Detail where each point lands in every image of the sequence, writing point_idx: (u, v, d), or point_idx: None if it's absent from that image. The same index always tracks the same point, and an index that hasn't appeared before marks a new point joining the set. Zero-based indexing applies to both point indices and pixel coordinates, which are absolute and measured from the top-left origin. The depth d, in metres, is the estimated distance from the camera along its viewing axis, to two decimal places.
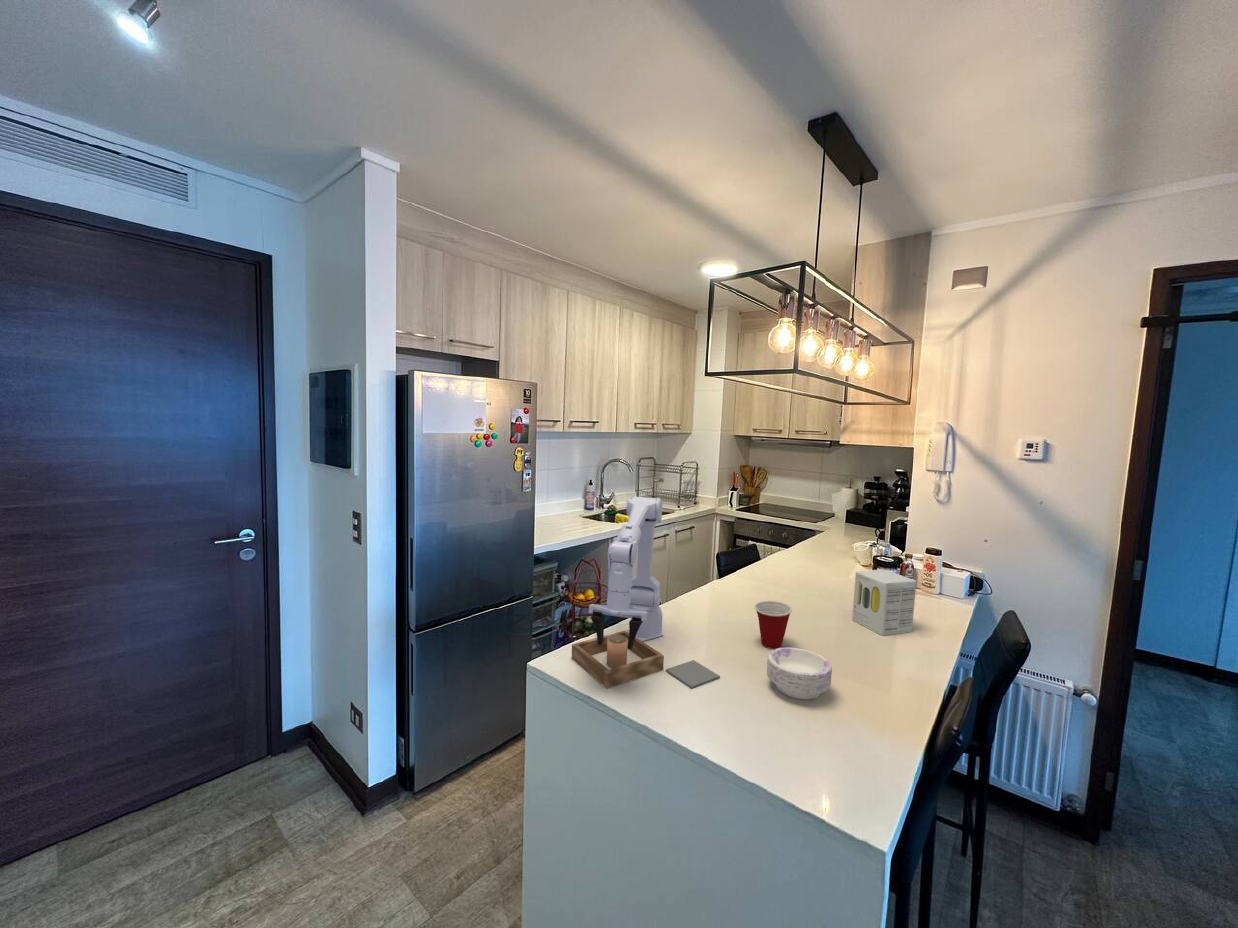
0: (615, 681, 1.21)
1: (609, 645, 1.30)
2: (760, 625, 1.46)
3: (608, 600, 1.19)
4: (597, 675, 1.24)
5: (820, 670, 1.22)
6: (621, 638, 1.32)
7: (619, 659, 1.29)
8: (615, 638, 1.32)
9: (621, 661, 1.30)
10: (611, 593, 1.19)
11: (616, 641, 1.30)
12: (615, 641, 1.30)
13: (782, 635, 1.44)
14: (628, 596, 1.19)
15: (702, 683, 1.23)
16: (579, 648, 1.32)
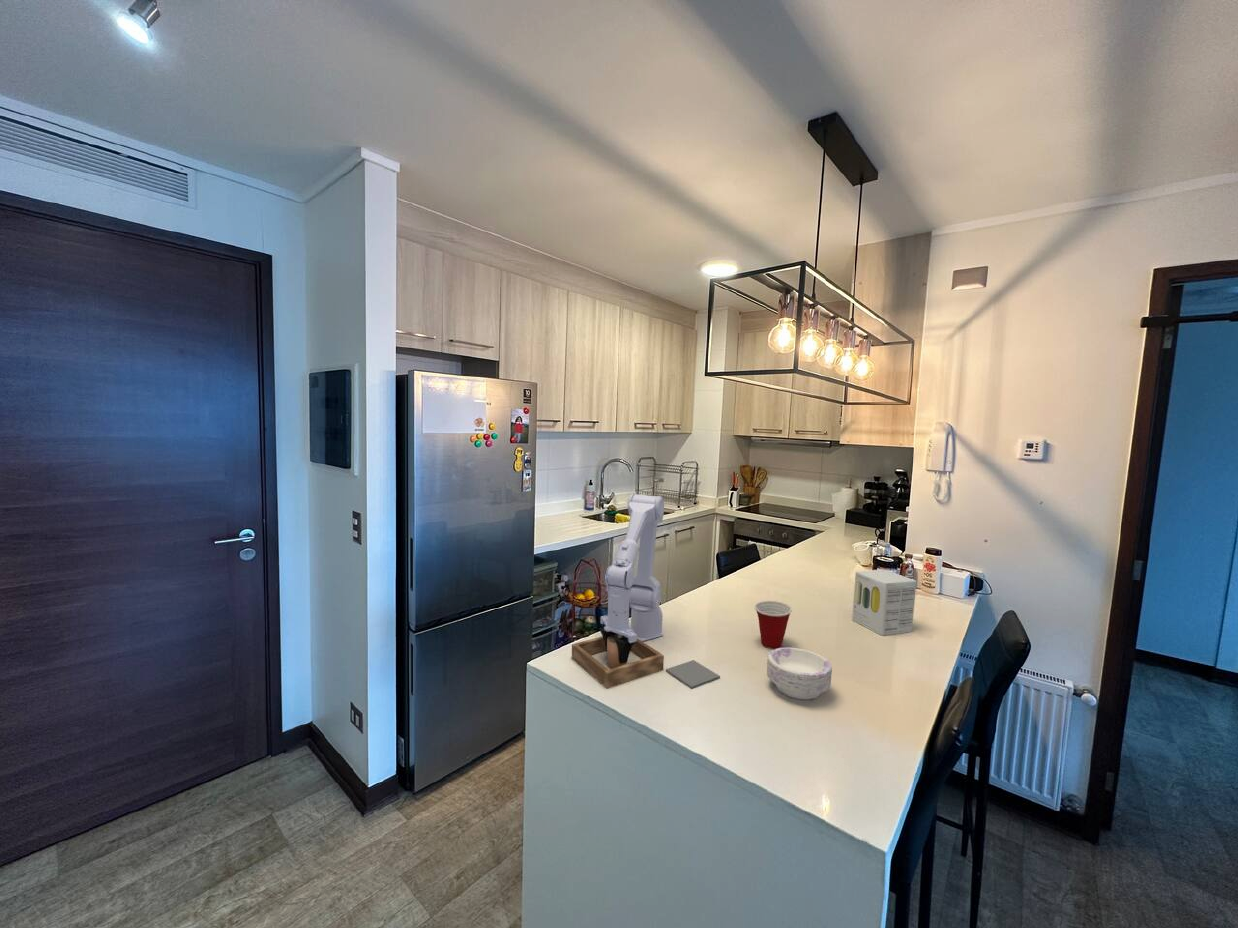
0: (615, 681, 1.21)
1: (609, 645, 1.30)
2: (760, 625, 1.46)
3: None
4: (597, 675, 1.24)
5: (820, 670, 1.22)
6: None
7: None
8: (615, 638, 1.32)
9: None
10: (608, 611, 1.31)
11: None
12: (615, 641, 1.30)
13: (782, 635, 1.44)
14: (621, 617, 1.28)
15: (702, 683, 1.23)
16: (579, 648, 1.32)
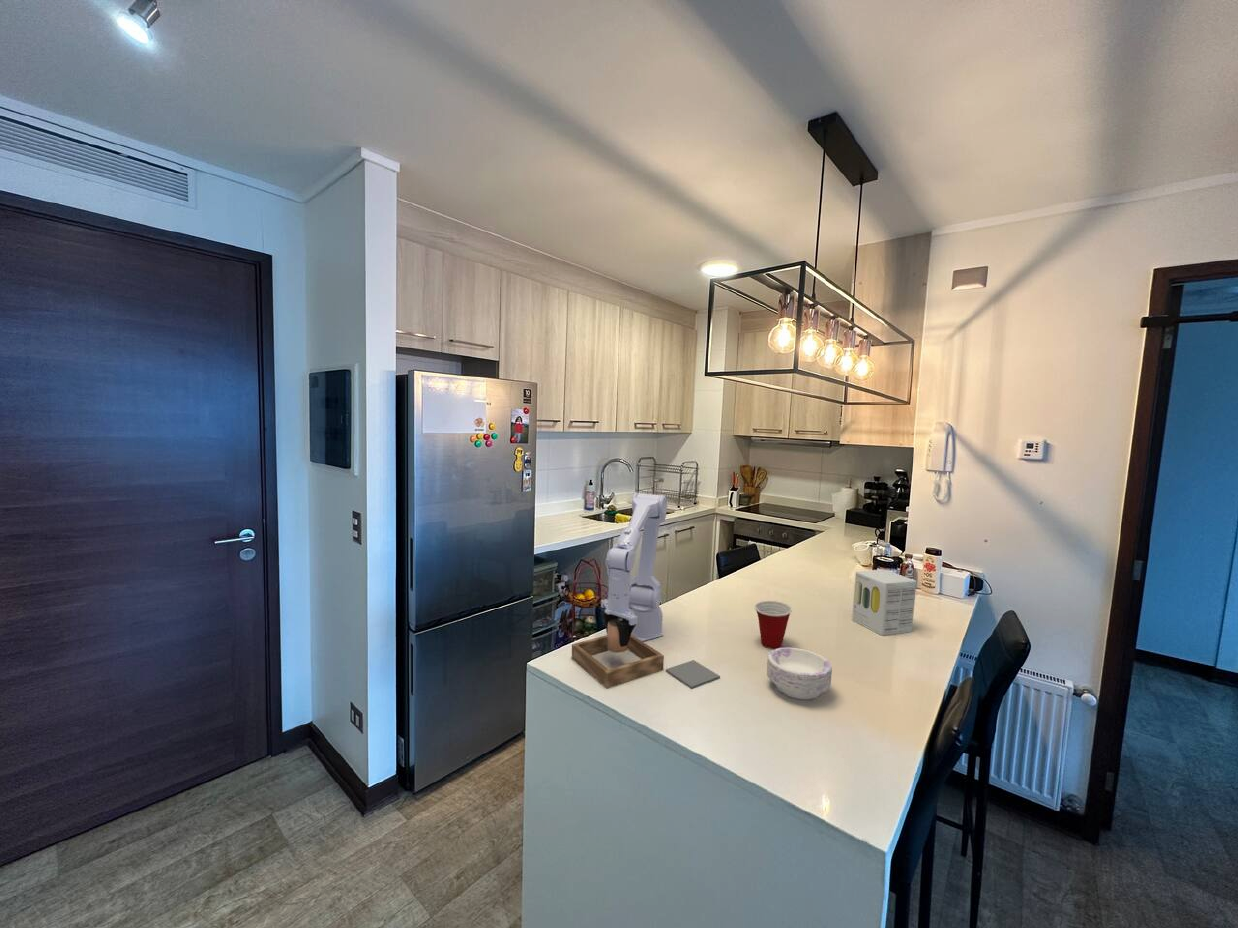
0: (615, 681, 1.21)
1: (609, 629, 1.30)
2: (760, 625, 1.46)
3: None
4: (597, 675, 1.24)
5: (820, 670, 1.22)
6: None
7: (619, 643, 1.29)
8: (615, 622, 1.31)
9: None
10: None
11: None
12: None
13: (782, 635, 1.44)
14: (621, 599, 1.28)
15: (702, 683, 1.23)
16: (579, 648, 1.32)
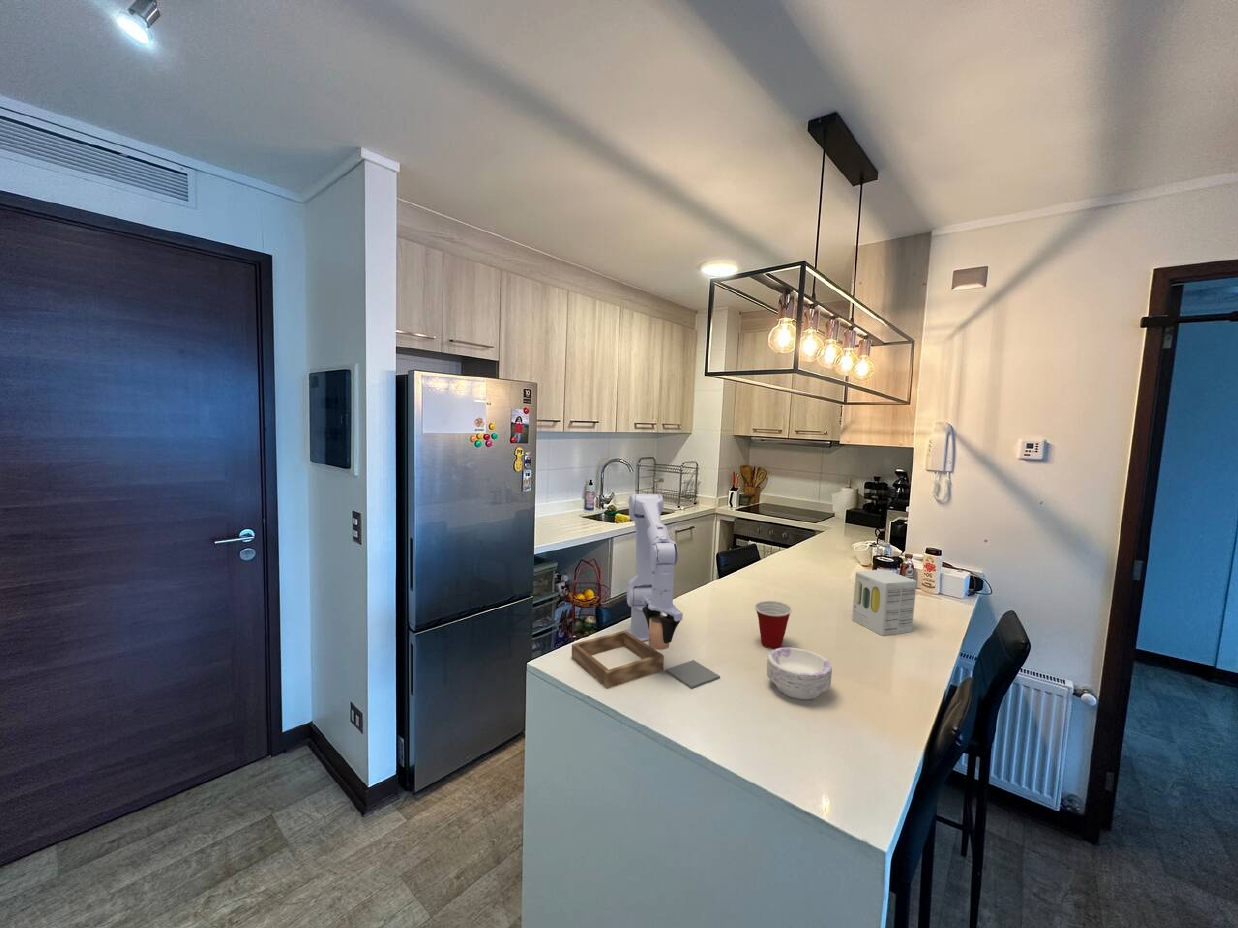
0: (615, 681, 1.21)
1: (651, 625, 1.27)
2: (760, 625, 1.46)
3: None
4: (597, 675, 1.24)
5: (820, 670, 1.22)
6: None
7: (661, 640, 1.26)
8: (657, 618, 1.28)
9: (663, 642, 1.26)
10: (651, 589, 1.28)
11: (658, 621, 1.27)
12: (657, 621, 1.27)
13: (782, 635, 1.44)
14: (665, 595, 1.25)
15: (702, 683, 1.23)
16: (579, 648, 1.32)
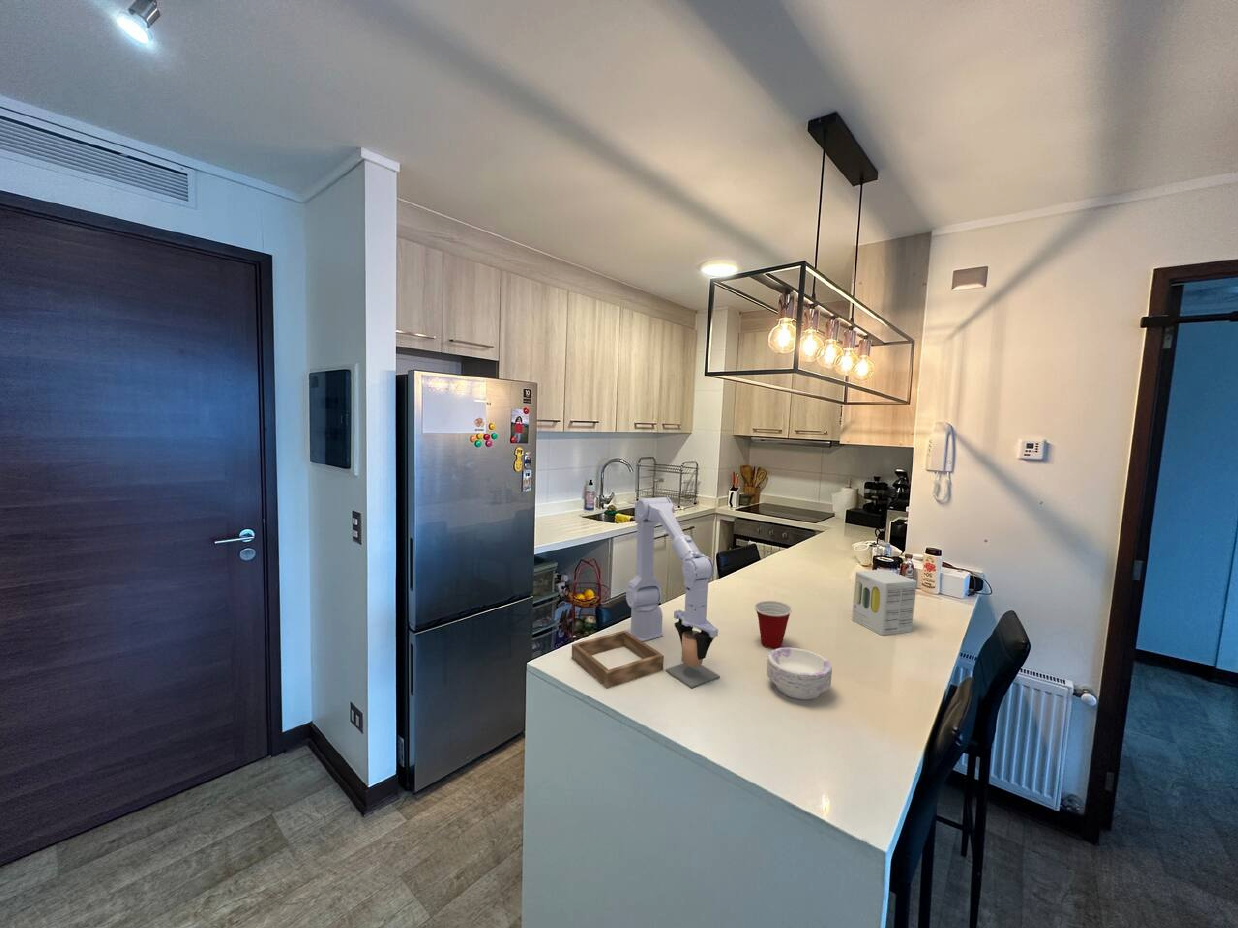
0: (615, 681, 1.21)
1: (684, 641, 1.25)
2: (760, 625, 1.46)
3: None
4: (597, 675, 1.24)
5: (820, 670, 1.22)
6: None
7: (695, 656, 1.24)
8: (690, 634, 1.27)
9: (697, 658, 1.25)
10: (685, 605, 1.26)
11: (692, 637, 1.25)
12: (691, 637, 1.25)
13: (782, 635, 1.44)
14: (700, 611, 1.24)
15: (702, 683, 1.23)
16: (579, 648, 1.32)
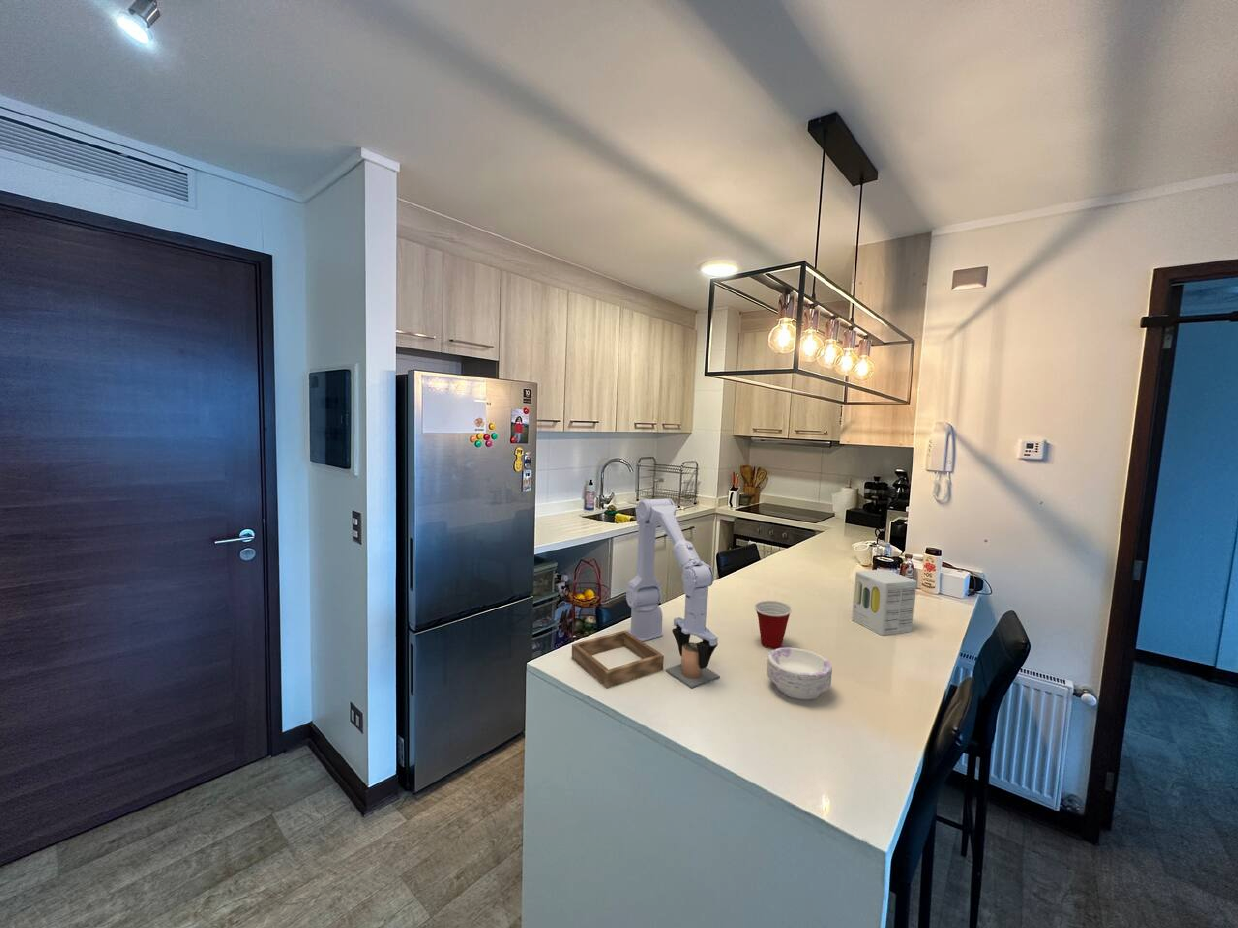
0: (615, 681, 1.21)
1: (684, 653, 1.26)
2: (760, 625, 1.46)
3: (684, 618, 1.27)
4: (597, 675, 1.24)
5: (820, 670, 1.22)
6: (696, 647, 1.27)
7: (694, 668, 1.25)
8: (690, 646, 1.27)
9: (696, 670, 1.25)
10: None
11: (691, 649, 1.25)
12: (690, 649, 1.25)
13: (782, 635, 1.44)
14: (699, 619, 1.24)
15: (702, 683, 1.23)
16: (579, 648, 1.32)
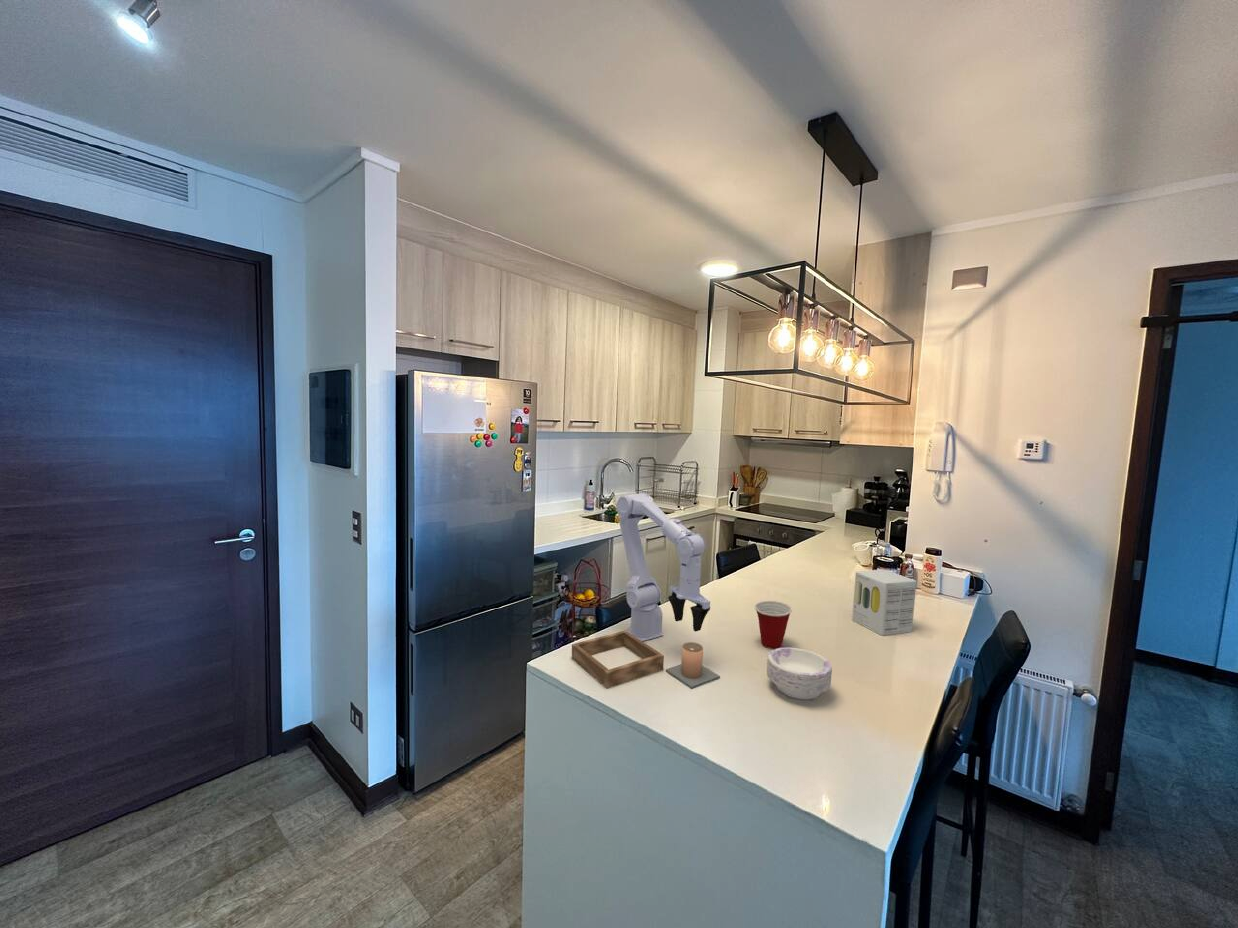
0: (615, 681, 1.21)
1: (683, 653, 1.26)
2: (760, 625, 1.46)
3: None
4: (597, 675, 1.24)
5: (820, 670, 1.22)
6: (696, 647, 1.27)
7: (694, 668, 1.25)
8: (690, 646, 1.27)
9: (696, 670, 1.25)
10: None
11: (691, 649, 1.25)
12: (690, 649, 1.25)
13: (782, 635, 1.44)
14: (693, 585, 1.33)
15: (702, 683, 1.23)
16: (579, 648, 1.32)
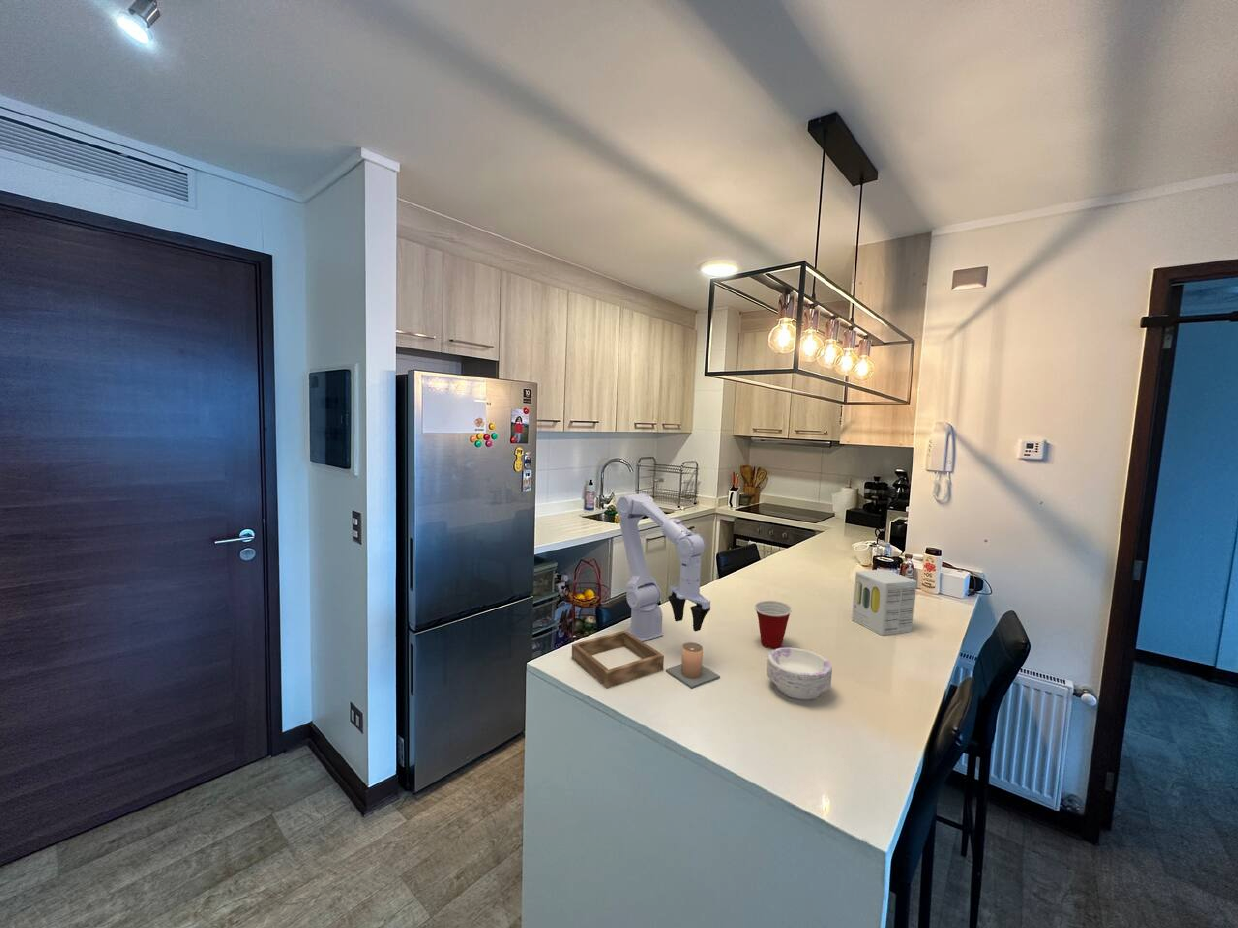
0: (615, 681, 1.21)
1: (683, 653, 1.26)
2: (760, 625, 1.46)
3: None
4: (597, 675, 1.24)
5: (820, 670, 1.22)
6: (696, 647, 1.27)
7: (694, 668, 1.25)
8: (690, 646, 1.27)
9: (696, 670, 1.25)
10: None
11: (691, 649, 1.25)
12: (690, 649, 1.25)
13: (782, 635, 1.44)
14: (693, 585, 1.33)
15: (702, 683, 1.23)
16: (579, 648, 1.32)
